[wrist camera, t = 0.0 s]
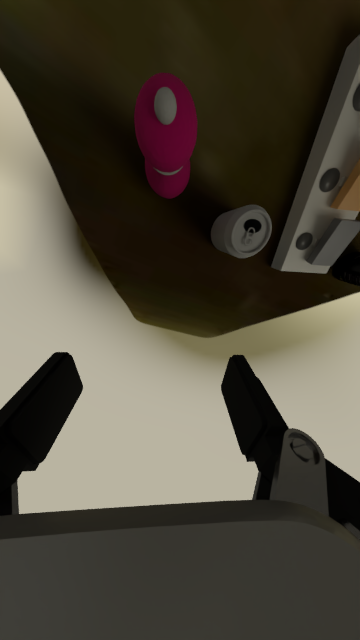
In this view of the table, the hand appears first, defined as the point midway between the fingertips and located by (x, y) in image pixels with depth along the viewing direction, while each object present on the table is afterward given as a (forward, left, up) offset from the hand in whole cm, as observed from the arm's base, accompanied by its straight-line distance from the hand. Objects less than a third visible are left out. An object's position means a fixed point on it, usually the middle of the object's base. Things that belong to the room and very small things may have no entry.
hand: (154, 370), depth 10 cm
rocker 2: (-8, +33, -25) cm, 42 cm away
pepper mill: (-16, 0, -32) cm, 35 cm away
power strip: (-17, +31, -31) cm, 47 cm away
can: (-8, +13, -32) cm, 35 cm away
